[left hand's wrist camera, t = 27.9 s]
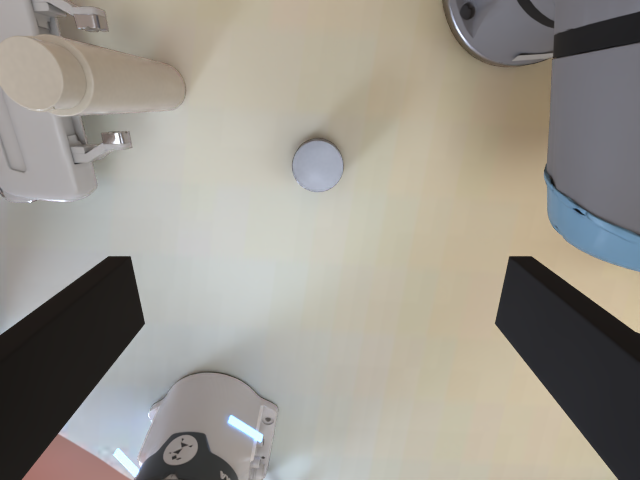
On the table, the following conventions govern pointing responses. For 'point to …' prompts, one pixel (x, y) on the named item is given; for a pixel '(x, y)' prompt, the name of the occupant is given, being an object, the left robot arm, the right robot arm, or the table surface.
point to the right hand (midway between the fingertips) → (116, 83)
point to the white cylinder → (84, 78)
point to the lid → (317, 165)
